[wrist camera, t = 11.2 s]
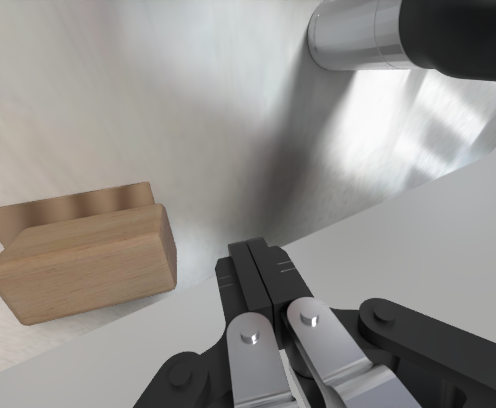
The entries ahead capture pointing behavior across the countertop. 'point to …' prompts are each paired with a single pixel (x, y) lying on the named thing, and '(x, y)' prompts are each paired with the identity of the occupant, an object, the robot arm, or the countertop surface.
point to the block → (88, 264)
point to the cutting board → (71, 208)
